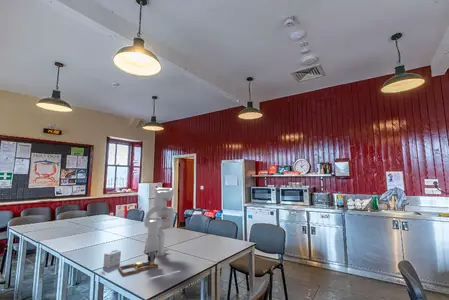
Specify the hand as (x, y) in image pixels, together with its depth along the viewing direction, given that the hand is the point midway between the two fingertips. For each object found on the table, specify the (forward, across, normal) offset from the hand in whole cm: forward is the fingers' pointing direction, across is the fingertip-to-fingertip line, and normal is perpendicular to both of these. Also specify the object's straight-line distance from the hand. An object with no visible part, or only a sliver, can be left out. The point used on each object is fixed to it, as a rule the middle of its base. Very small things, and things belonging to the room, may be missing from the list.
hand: (151, 260), depth 177 cm
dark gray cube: (+4, +4, 0) cm, 6 cm away
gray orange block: (+4, 0, 0) cm, 4 cm away
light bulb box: (+5, +24, -19) cm, 31 cm away
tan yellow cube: (+4, +10, 0) cm, 10 cm away
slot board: (+5, +10, 0) cm, 11 cm away
